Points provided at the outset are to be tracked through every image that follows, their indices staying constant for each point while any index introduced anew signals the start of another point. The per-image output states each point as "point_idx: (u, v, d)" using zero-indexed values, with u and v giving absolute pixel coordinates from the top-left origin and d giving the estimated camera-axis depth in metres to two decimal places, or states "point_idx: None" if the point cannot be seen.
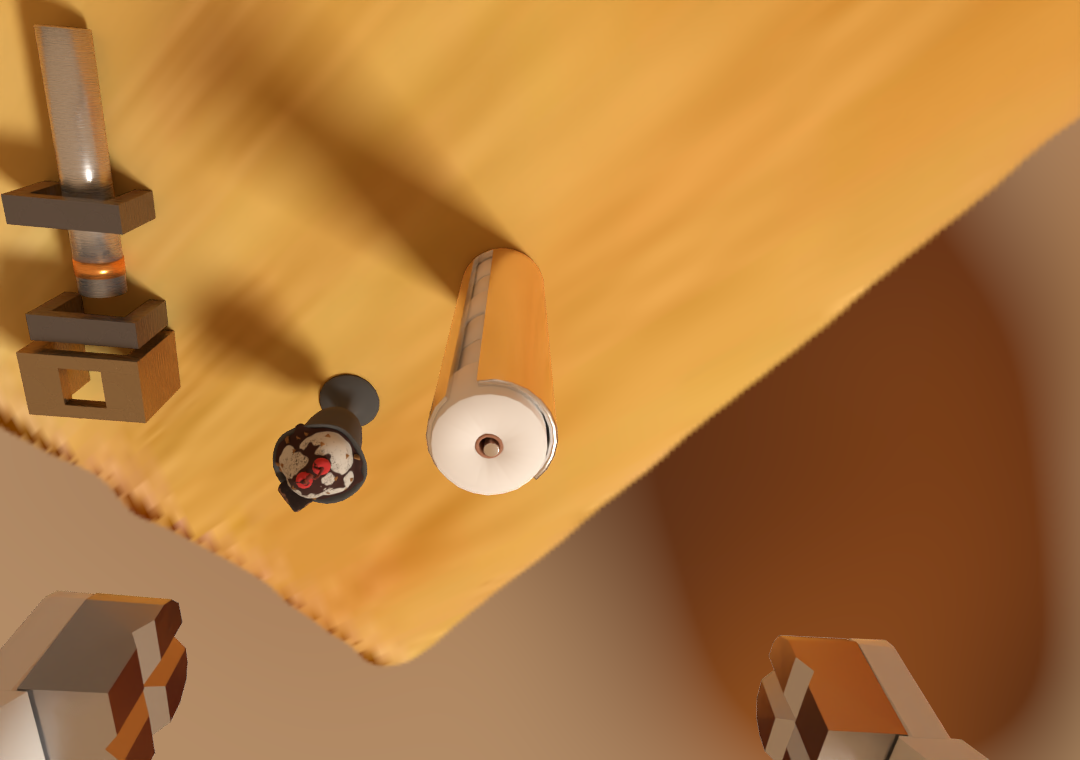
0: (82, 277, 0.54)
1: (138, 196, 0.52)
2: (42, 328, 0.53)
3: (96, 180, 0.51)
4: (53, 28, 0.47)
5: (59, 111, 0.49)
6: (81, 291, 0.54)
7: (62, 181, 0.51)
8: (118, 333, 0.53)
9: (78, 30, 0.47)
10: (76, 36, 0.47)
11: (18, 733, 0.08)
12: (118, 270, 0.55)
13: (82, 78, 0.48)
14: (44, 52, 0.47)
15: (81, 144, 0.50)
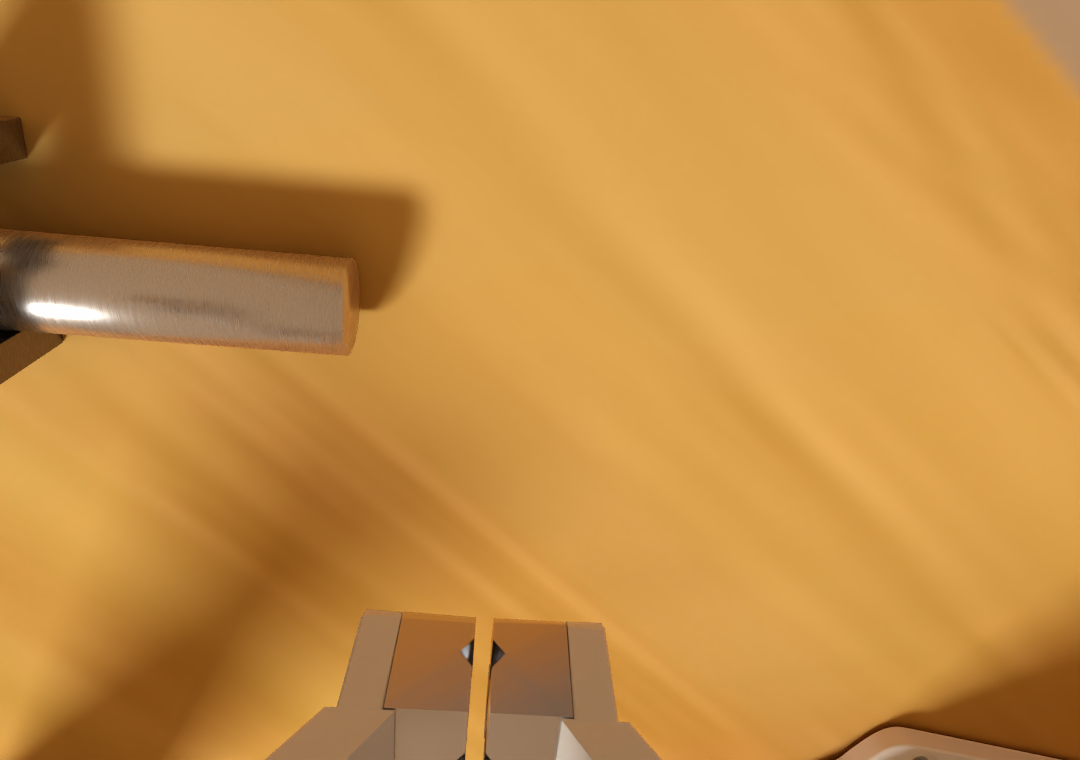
0: None
1: (28, 363, 0.24)
2: None
3: None
4: (341, 350, 0.24)
5: (176, 330, 0.23)
6: None
7: (13, 298, 0.22)
8: None
9: (350, 349, 0.25)
10: None
11: (383, 750, 0.08)
12: None
13: None
14: (290, 329, 0.23)
15: (123, 338, 0.24)
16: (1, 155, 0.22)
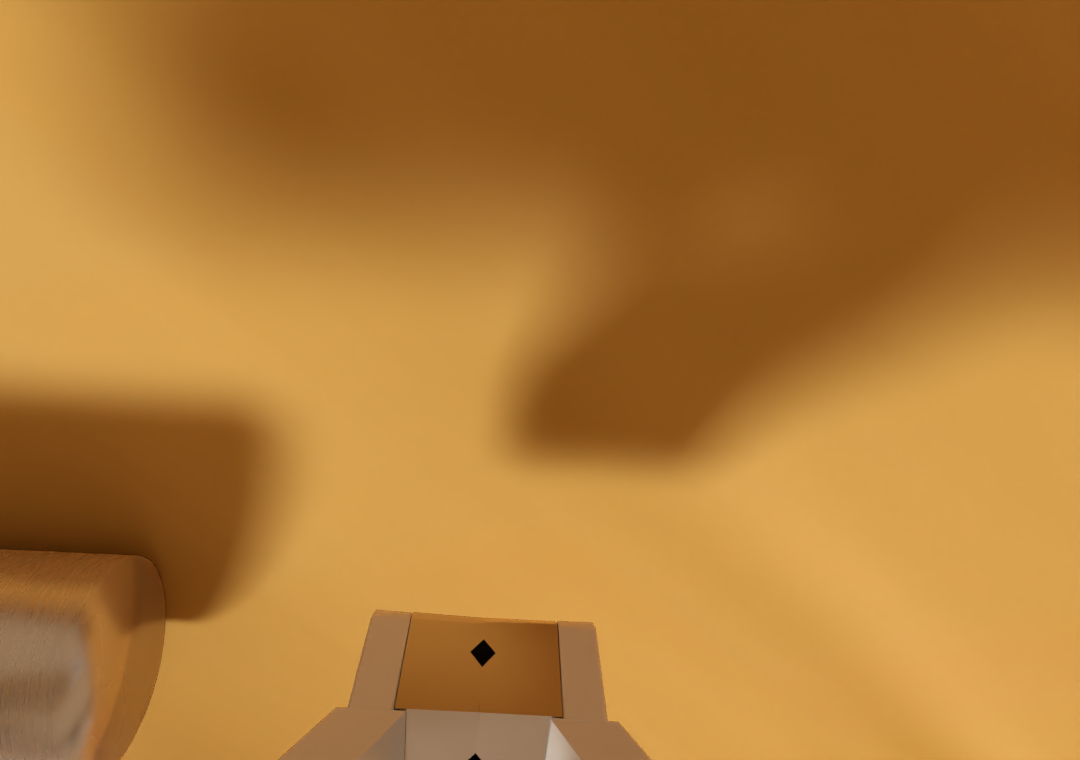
0: None
1: None
2: None
3: None
4: None
5: None
6: None
7: None
8: None
9: None
10: None
11: (395, 751, 0.08)
12: None
13: None
14: None
15: None
16: None
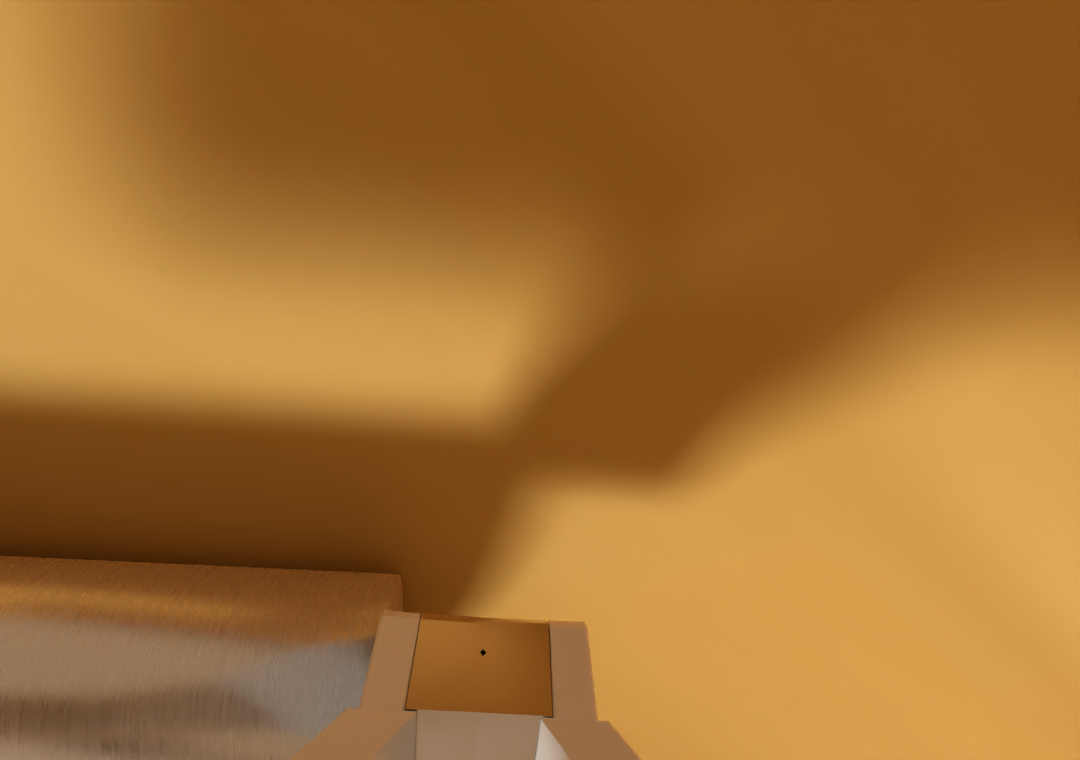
0: None
1: None
2: None
3: None
4: None
5: None
6: None
7: None
8: None
9: None
10: None
11: (405, 751, 0.08)
12: None
13: None
14: None
15: None
16: None
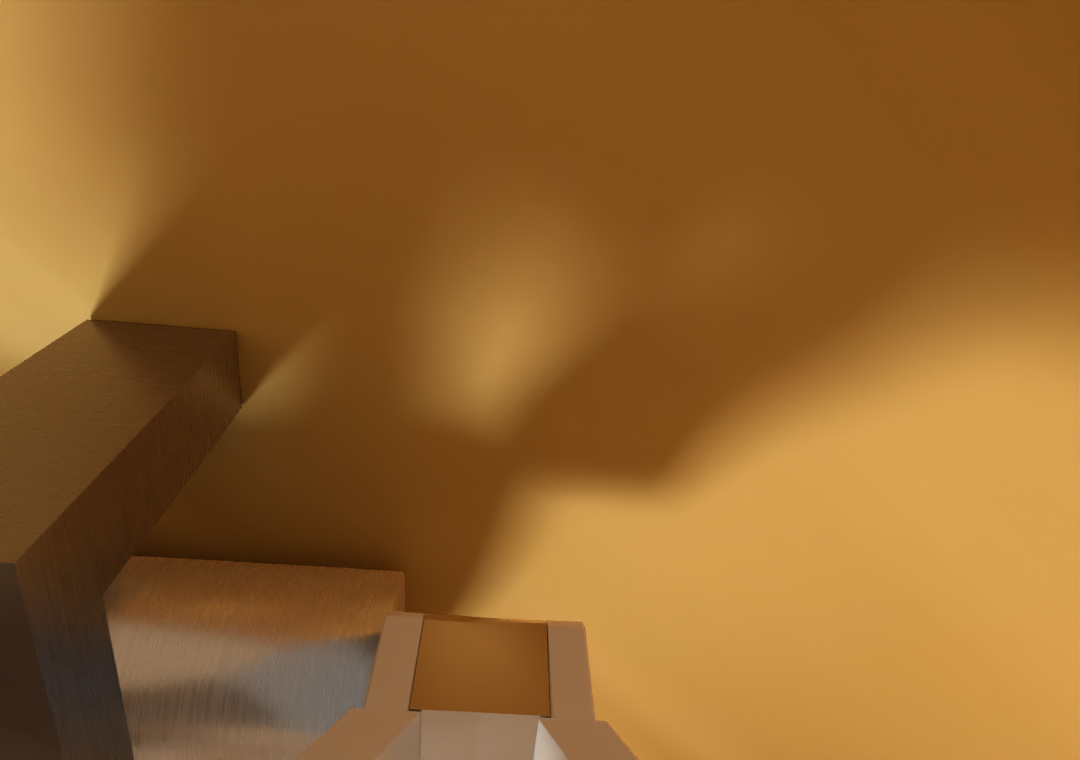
0: None
1: None
2: None
3: None
4: None
5: None
6: None
7: None
8: None
9: None
10: None
11: (410, 752, 0.08)
12: None
13: None
14: None
15: None
16: (208, 433, 0.10)
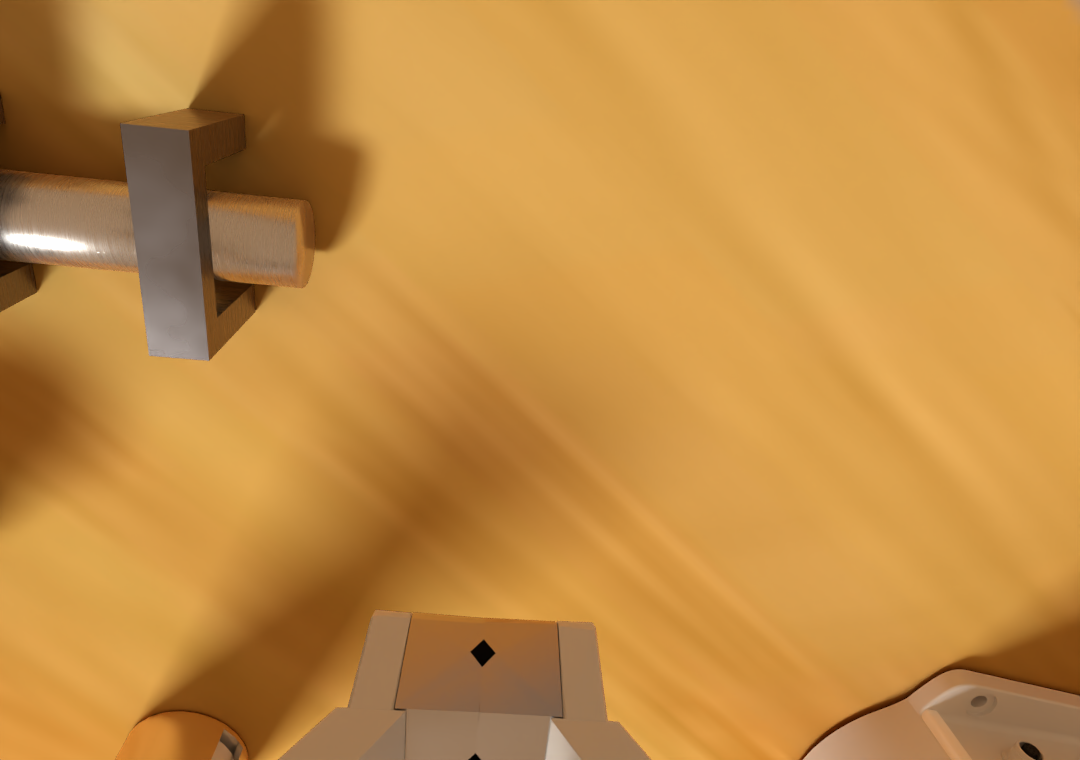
0: None
1: (238, 327, 0.28)
2: None
3: (28, 261, 0.26)
4: (292, 269, 0.26)
5: None
6: None
7: (0, 208, 0.25)
8: None
9: (300, 286, 0.27)
10: (288, 286, 0.27)
11: (395, 751, 0.08)
12: None
13: (219, 279, 0.27)
14: (247, 242, 0.26)
15: (91, 262, 0.26)
16: (234, 146, 0.26)
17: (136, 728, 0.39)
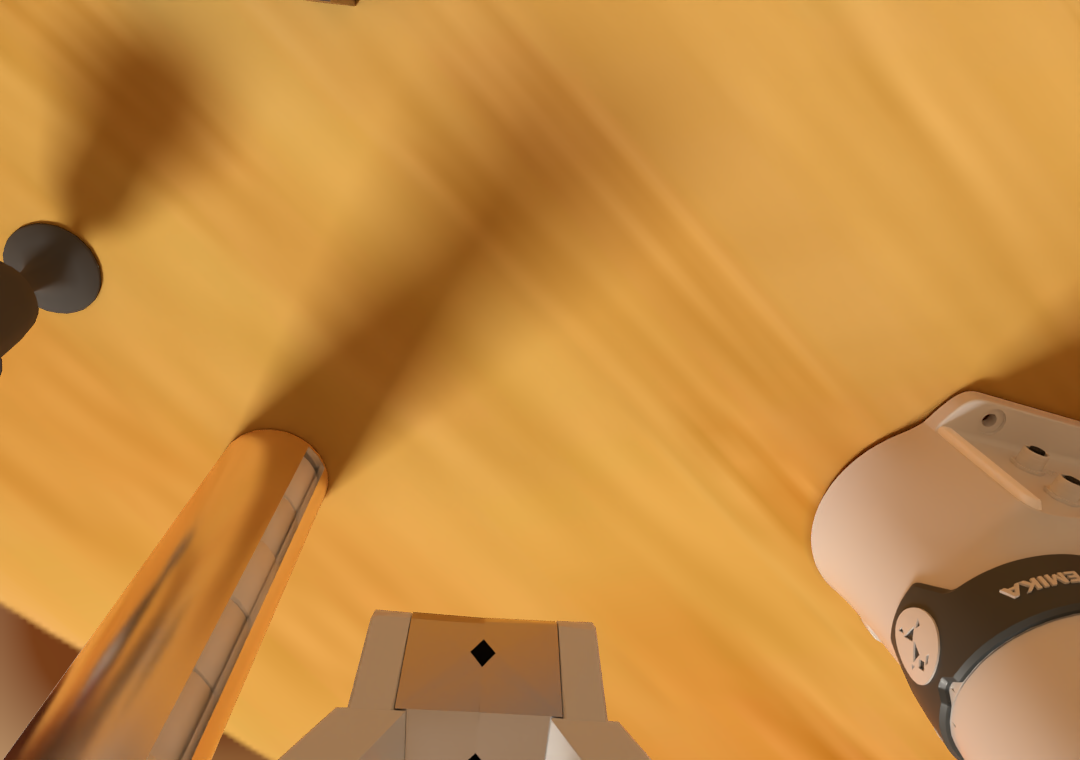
0: None
1: (346, 2, 0.33)
2: None
3: None
4: None
5: None
6: None
7: None
8: None
9: None
10: None
11: (395, 751, 0.08)
12: None
13: None
14: None
15: None
16: None
17: (231, 443, 0.44)
